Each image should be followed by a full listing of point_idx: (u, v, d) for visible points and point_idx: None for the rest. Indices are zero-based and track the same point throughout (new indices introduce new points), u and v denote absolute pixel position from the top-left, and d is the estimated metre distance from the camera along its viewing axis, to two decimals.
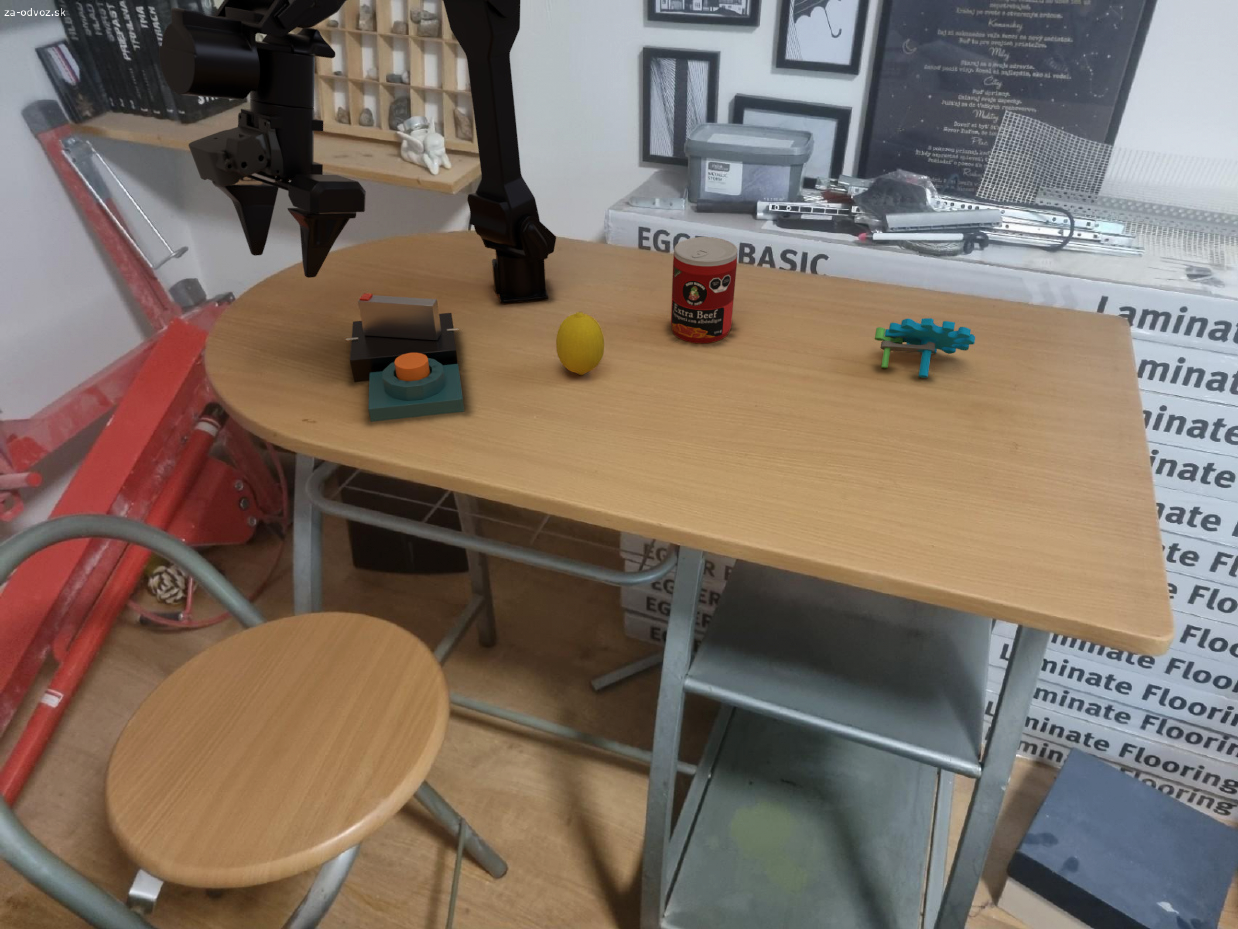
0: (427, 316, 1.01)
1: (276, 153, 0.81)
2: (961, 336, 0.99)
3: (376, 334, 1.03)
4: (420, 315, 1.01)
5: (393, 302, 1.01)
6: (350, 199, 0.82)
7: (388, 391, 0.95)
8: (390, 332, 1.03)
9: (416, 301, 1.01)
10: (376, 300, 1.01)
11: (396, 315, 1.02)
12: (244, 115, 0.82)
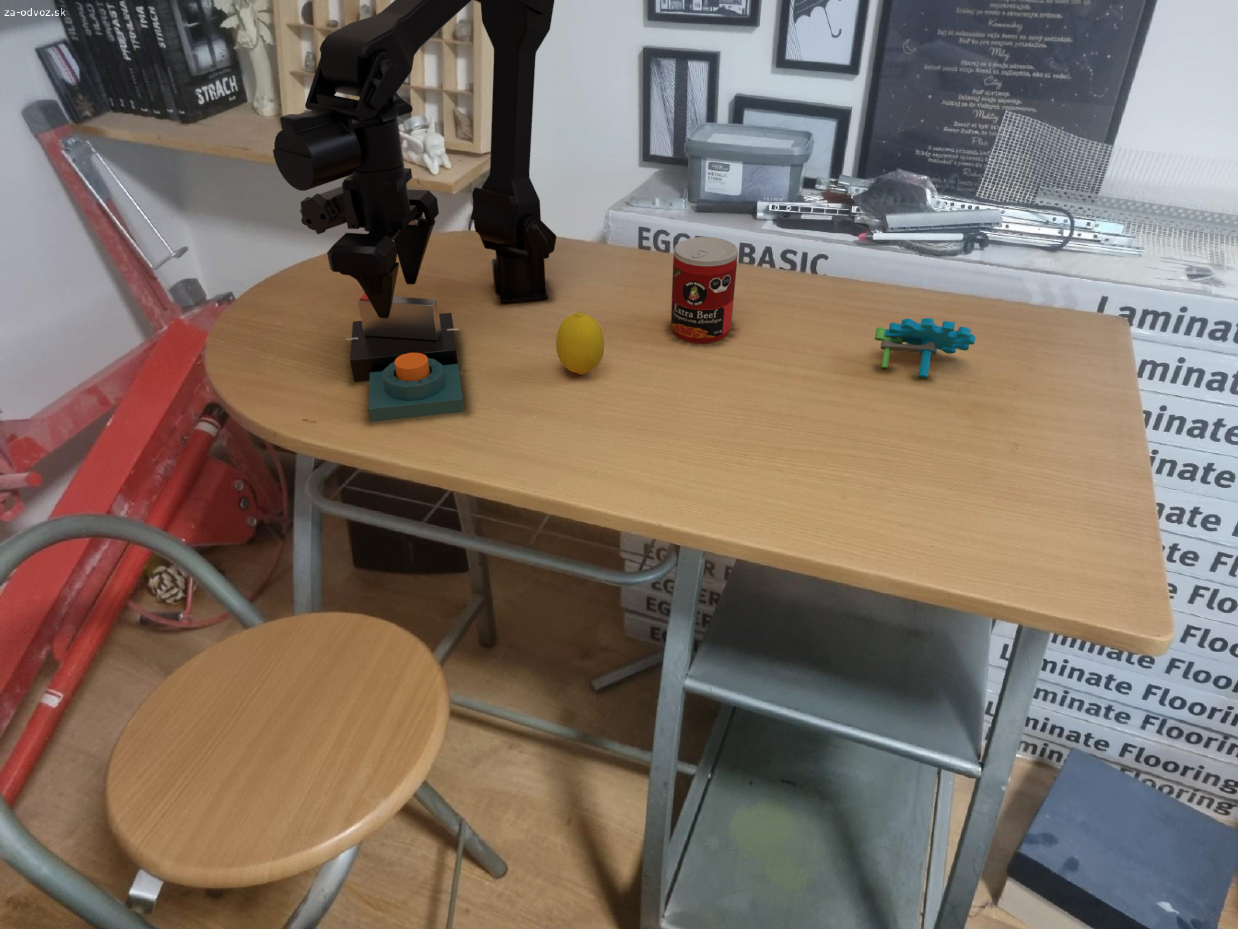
0: (427, 316, 1.01)
1: (348, 210, 0.93)
2: (961, 336, 0.99)
3: (376, 334, 1.03)
4: (420, 315, 1.01)
5: (393, 302, 1.01)
6: (363, 262, 0.89)
7: (388, 391, 0.95)
8: (390, 332, 1.03)
9: (416, 301, 1.01)
10: None
11: (396, 315, 1.02)
12: None
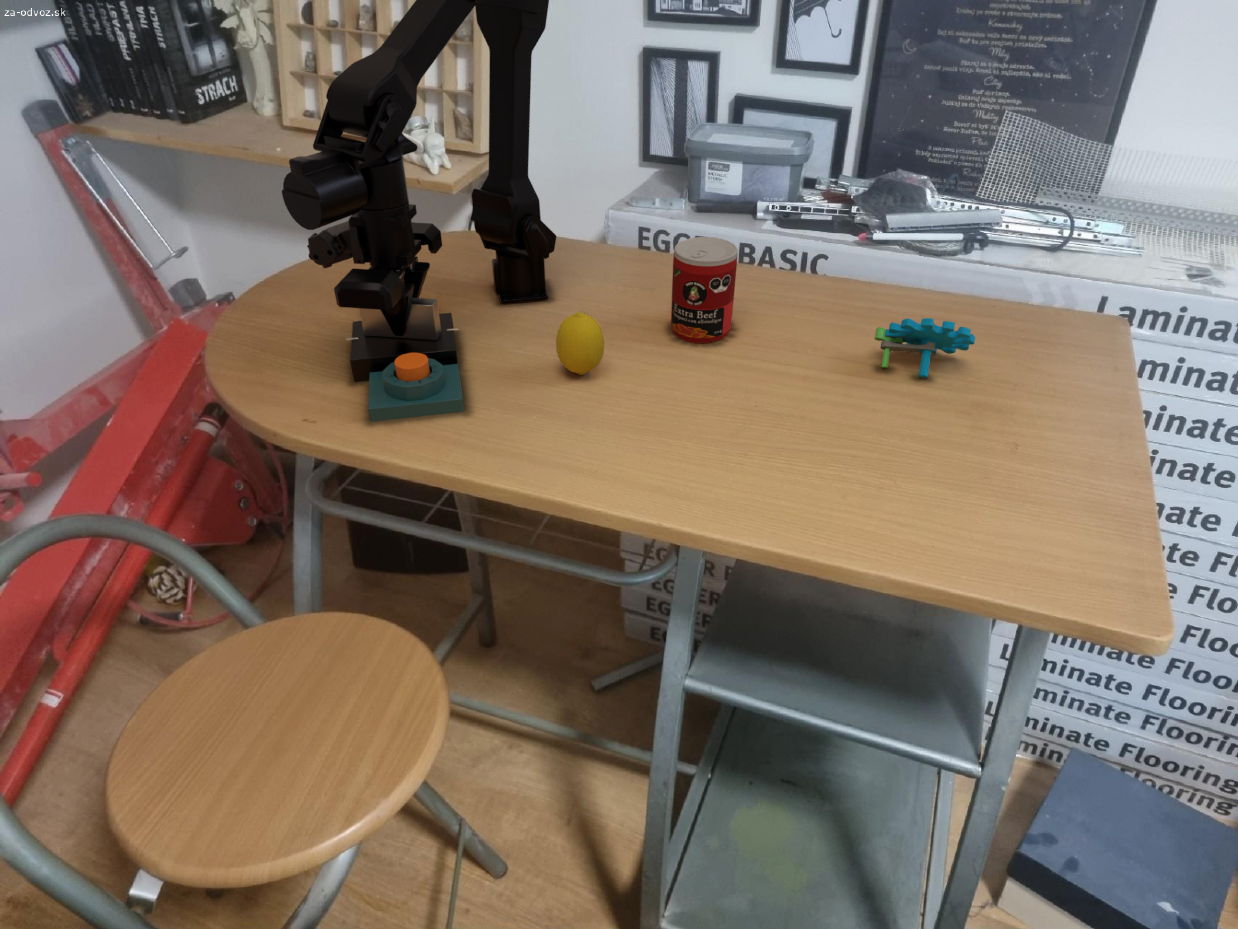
0: (427, 316, 1.01)
1: (355, 246, 0.95)
2: (961, 336, 0.99)
3: (376, 334, 1.03)
4: (420, 315, 1.01)
5: None
6: (369, 298, 0.91)
7: (388, 391, 0.95)
8: (390, 332, 1.03)
9: (416, 301, 1.01)
10: None
11: None
12: None
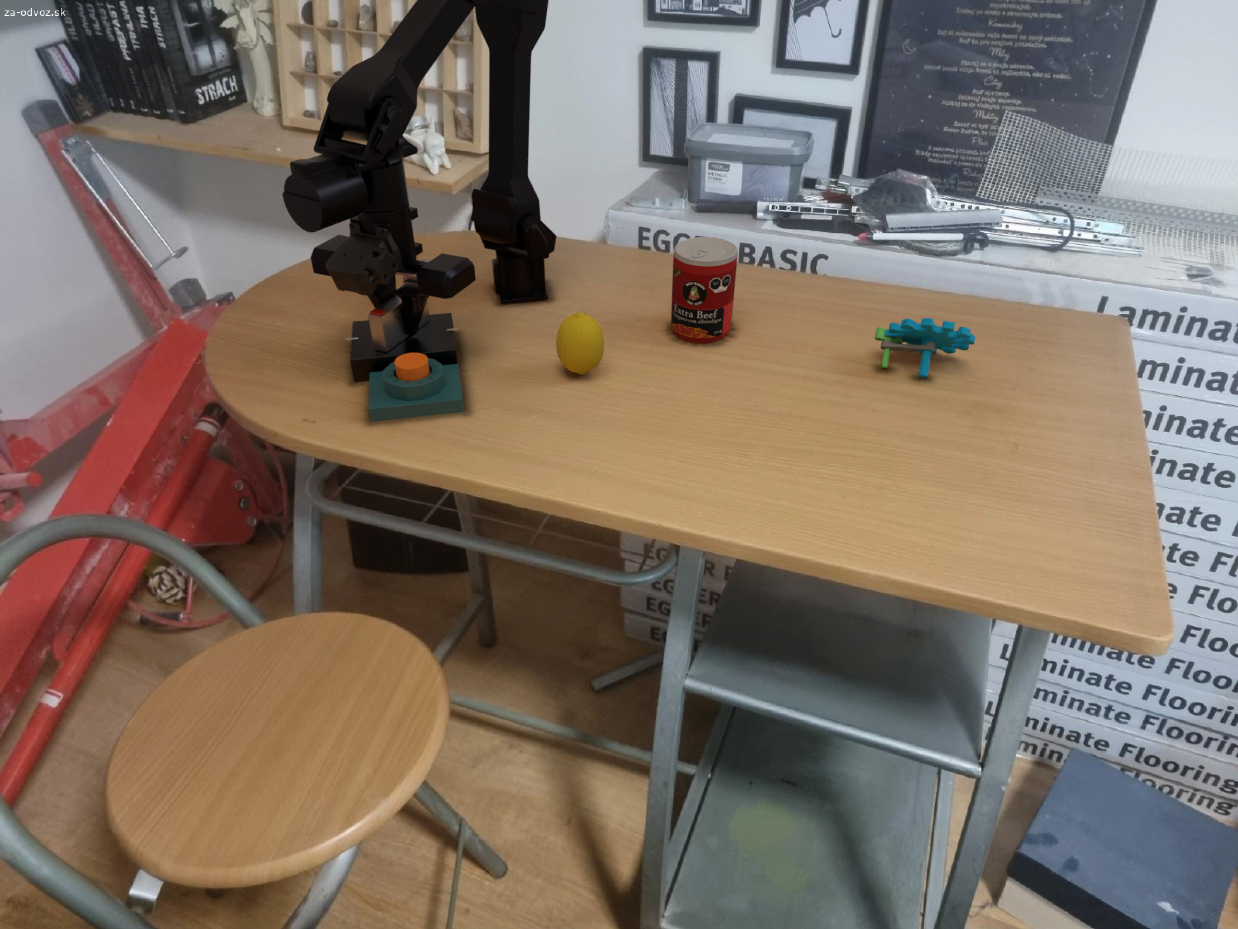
0: None
1: (396, 253, 0.94)
2: (961, 336, 0.99)
3: (394, 344, 1.01)
4: None
5: (401, 301, 1.01)
6: (467, 275, 0.97)
7: (388, 391, 0.95)
8: (403, 335, 1.02)
9: None
10: (389, 308, 0.99)
11: None
12: (357, 225, 0.94)
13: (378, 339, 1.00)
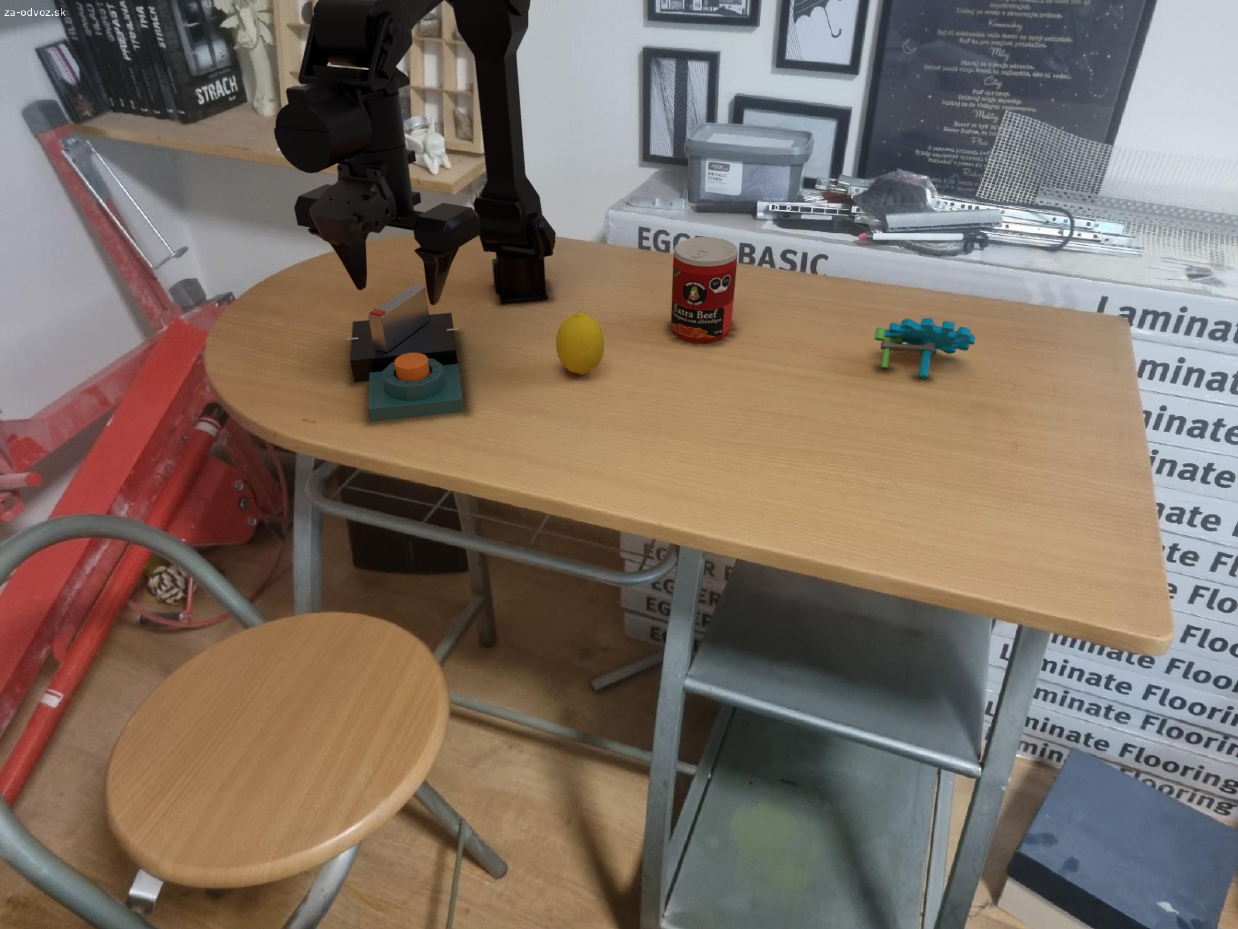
0: (423, 300, 1.05)
1: (390, 199, 0.83)
2: (961, 336, 0.99)
3: (394, 344, 1.01)
4: (419, 302, 1.04)
5: (401, 301, 1.01)
6: (471, 227, 0.85)
7: (388, 391, 0.95)
8: (403, 335, 1.02)
9: (409, 292, 1.03)
10: (389, 308, 0.99)
11: (405, 313, 1.02)
12: (345, 166, 0.82)
13: (378, 339, 1.00)
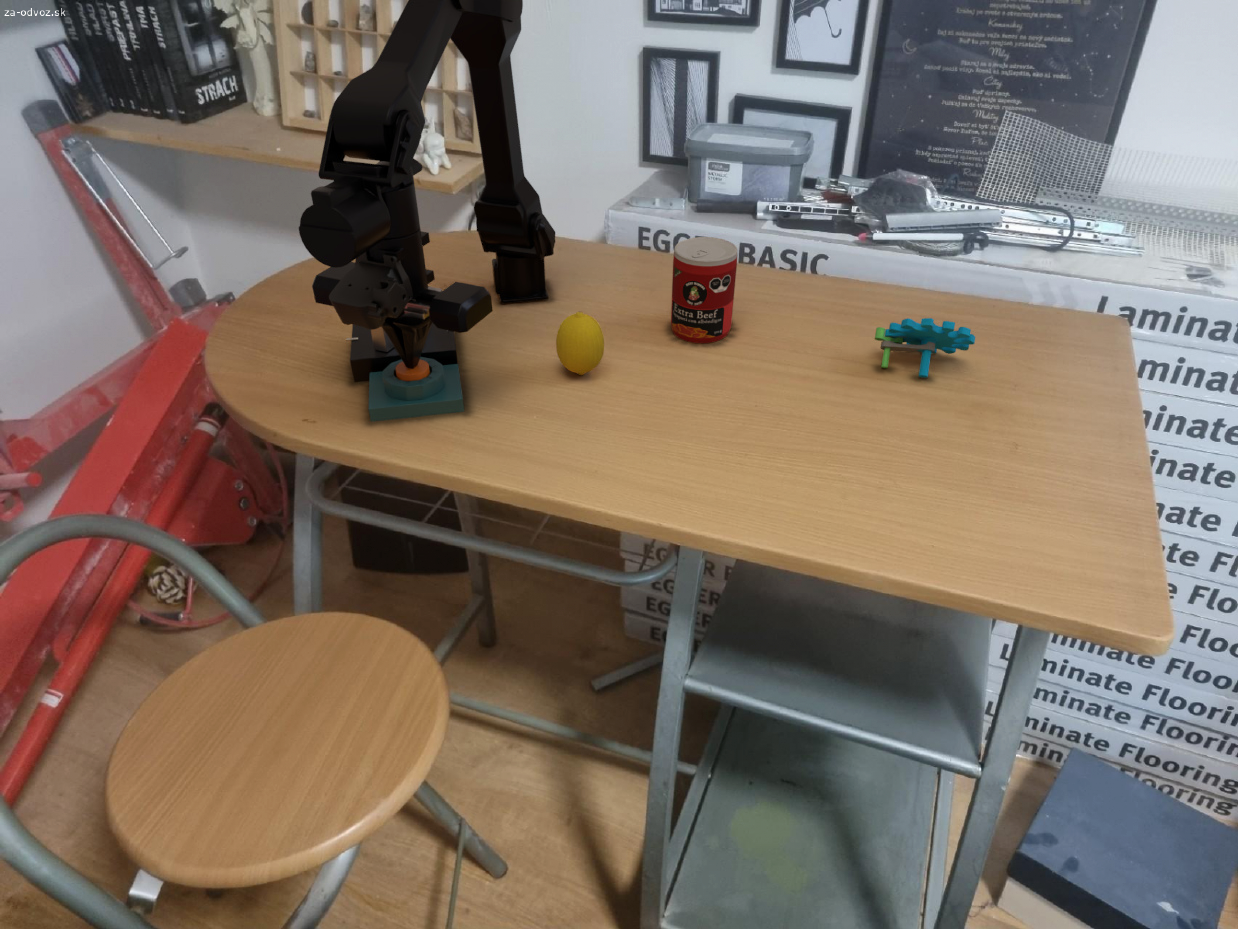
0: None
1: (406, 282, 0.86)
2: (961, 336, 0.99)
3: None
4: None
5: None
6: (483, 306, 0.88)
7: (388, 391, 0.95)
8: None
9: None
10: None
11: None
12: (363, 252, 0.85)
13: (378, 339, 1.00)
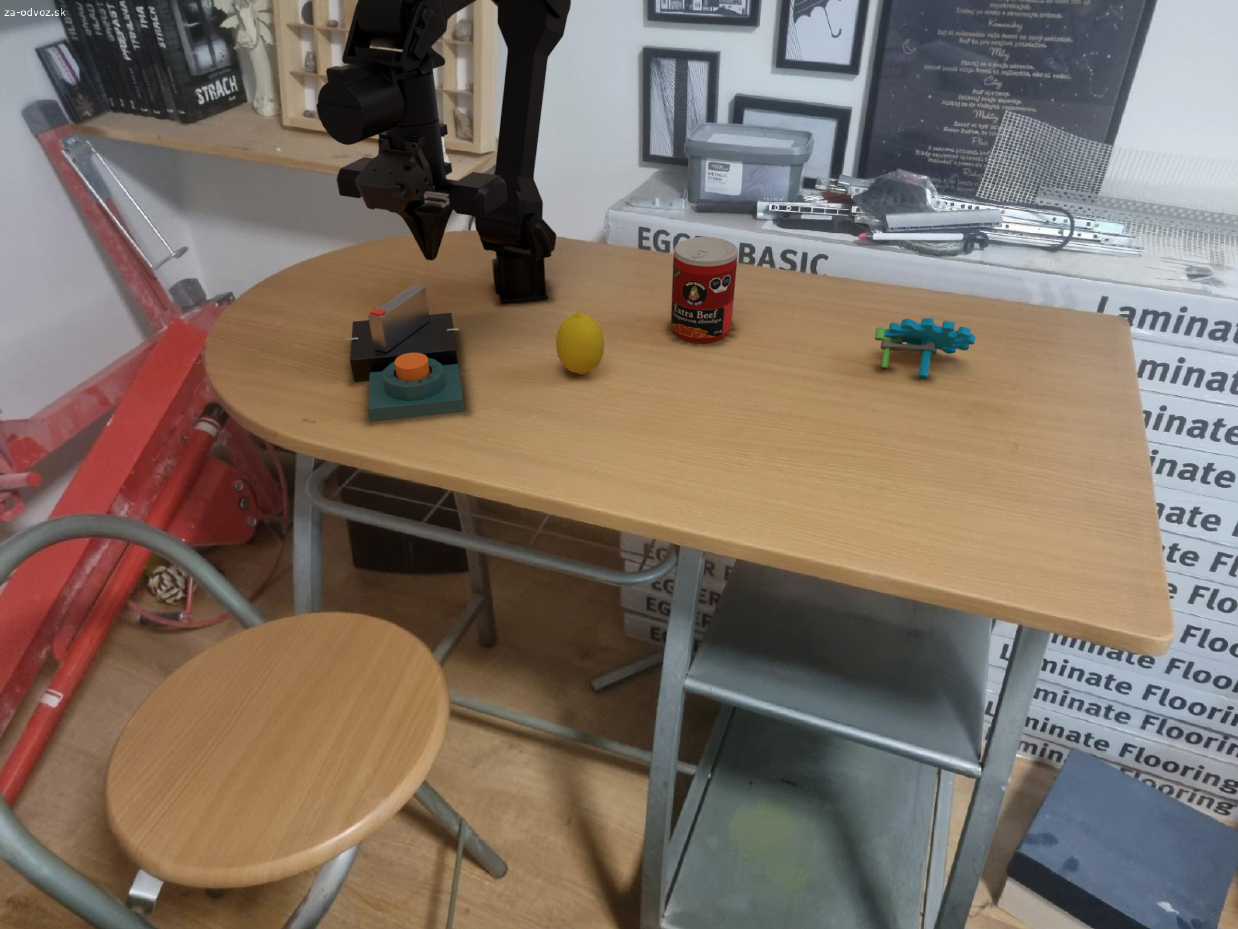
0: (423, 300, 1.05)
1: (426, 169, 0.91)
2: (961, 336, 0.99)
3: (394, 344, 1.01)
4: (419, 302, 1.04)
5: (401, 301, 1.01)
6: (499, 193, 0.94)
7: (388, 391, 0.95)
8: (403, 335, 1.02)
9: (409, 292, 1.03)
10: (389, 308, 0.99)
11: (405, 313, 1.02)
12: (386, 140, 0.91)
13: (378, 339, 1.00)
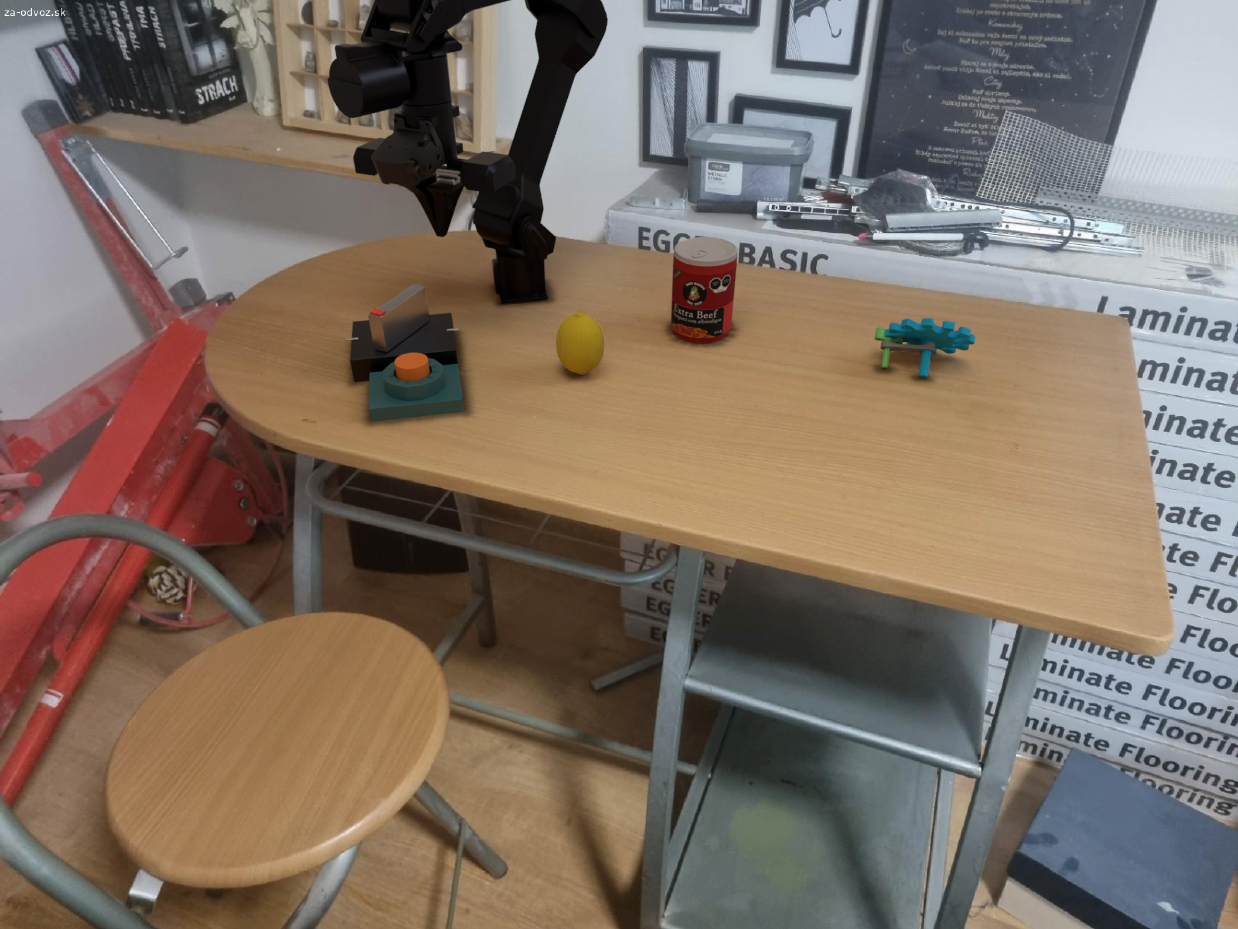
0: (423, 300, 1.05)
1: (439, 147, 0.96)
2: (961, 336, 0.99)
3: (394, 344, 1.01)
4: (419, 302, 1.04)
5: (401, 301, 1.01)
6: (508, 172, 0.98)
7: (388, 391, 0.95)
8: (403, 335, 1.02)
9: (409, 292, 1.03)
10: (389, 308, 0.99)
11: (405, 313, 1.02)
12: (401, 119, 0.96)
13: (378, 339, 1.00)
